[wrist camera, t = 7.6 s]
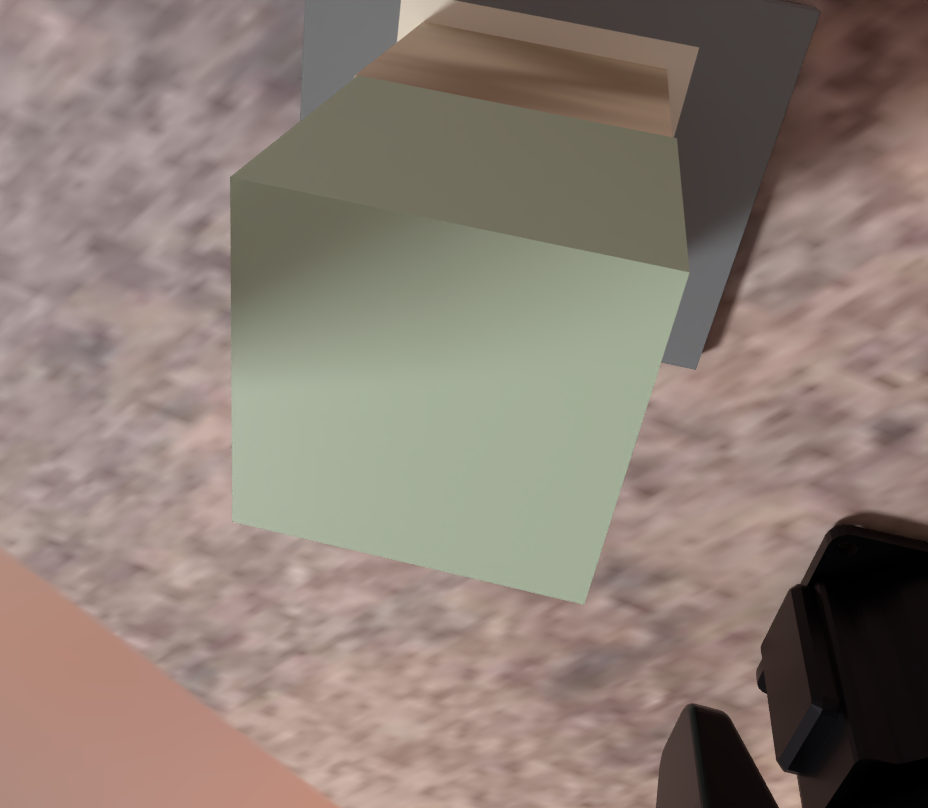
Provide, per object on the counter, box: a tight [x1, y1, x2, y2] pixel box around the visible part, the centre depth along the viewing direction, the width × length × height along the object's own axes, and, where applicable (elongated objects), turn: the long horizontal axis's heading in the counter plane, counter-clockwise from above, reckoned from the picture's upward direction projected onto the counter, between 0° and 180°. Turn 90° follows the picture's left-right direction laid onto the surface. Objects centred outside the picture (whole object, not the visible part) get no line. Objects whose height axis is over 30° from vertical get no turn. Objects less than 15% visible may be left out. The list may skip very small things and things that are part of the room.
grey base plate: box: [300, 0, 820, 370], centre depth 19 cm, size 10×8×1 cm
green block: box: [230, 75, 690, 604], centre depth 13 cm, size 5×5×5 cm
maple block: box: [354, 22, 672, 137], centre depth 17 cm, size 5×5×5 cm
